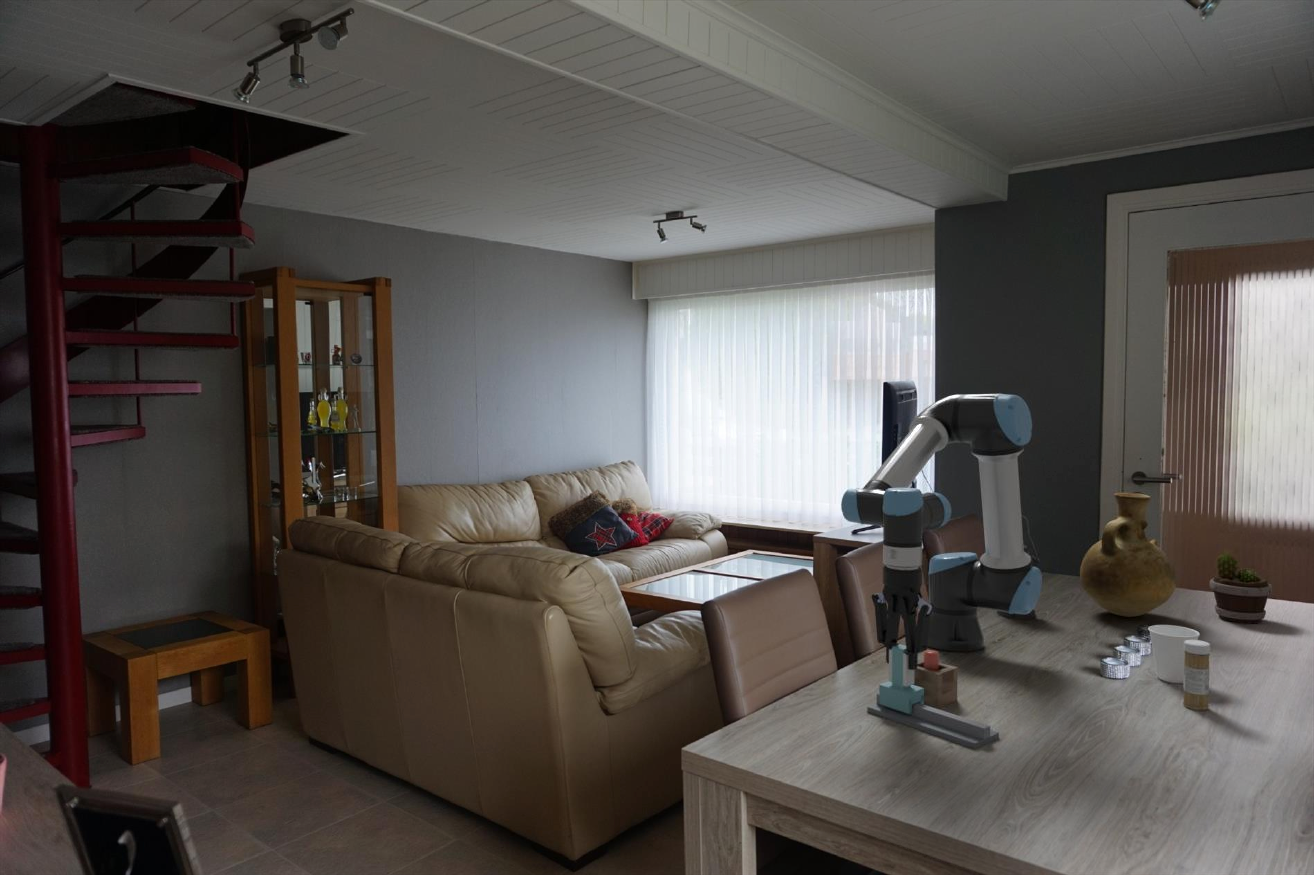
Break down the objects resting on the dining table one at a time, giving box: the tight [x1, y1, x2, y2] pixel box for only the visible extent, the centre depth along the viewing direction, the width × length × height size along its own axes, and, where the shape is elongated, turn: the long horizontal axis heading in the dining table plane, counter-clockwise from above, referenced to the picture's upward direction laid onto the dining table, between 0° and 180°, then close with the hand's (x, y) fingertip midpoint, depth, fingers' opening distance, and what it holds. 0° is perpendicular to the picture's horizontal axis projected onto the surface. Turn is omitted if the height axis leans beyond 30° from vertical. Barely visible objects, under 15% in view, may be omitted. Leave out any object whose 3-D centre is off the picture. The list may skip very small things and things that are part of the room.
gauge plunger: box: [923, 649, 940, 671], centre depth 182 cm, size 3×3×4 cm
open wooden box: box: [912, 658, 959, 709], centre depth 183 cm, size 8×7×7 cm
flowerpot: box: [1209, 549, 1273, 624], centre depth 243 cm, size 14×15×20 cm
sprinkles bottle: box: [1182, 639, 1211, 711], centre depth 177 cm, size 5×5×13 cm
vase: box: [1079, 492, 1177, 618], centre depth 248 cm, size 24×24×35 cm
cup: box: [1147, 624, 1201, 684], centre depth 194 cm, size 10×10×11 cm
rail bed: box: [866, 692, 1000, 750], centre depth 169 cm, size 24×8×3 cm, turn 39°
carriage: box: [878, 643, 925, 714], centre depth 174 cm, size 7×5×12 cm
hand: (901, 682), depth 174 cm, fingers closed on carriage, 3 cm apart
